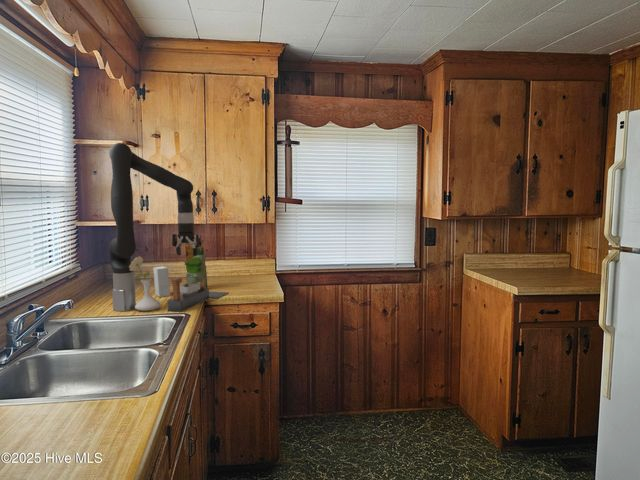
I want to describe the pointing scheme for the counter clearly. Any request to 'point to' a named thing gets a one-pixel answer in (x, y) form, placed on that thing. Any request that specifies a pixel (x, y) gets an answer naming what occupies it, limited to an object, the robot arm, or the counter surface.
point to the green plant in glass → (195, 266)
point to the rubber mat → (217, 294)
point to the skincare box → (161, 281)
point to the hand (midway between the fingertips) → (187, 255)
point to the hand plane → (186, 297)
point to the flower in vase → (147, 300)
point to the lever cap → (189, 287)
